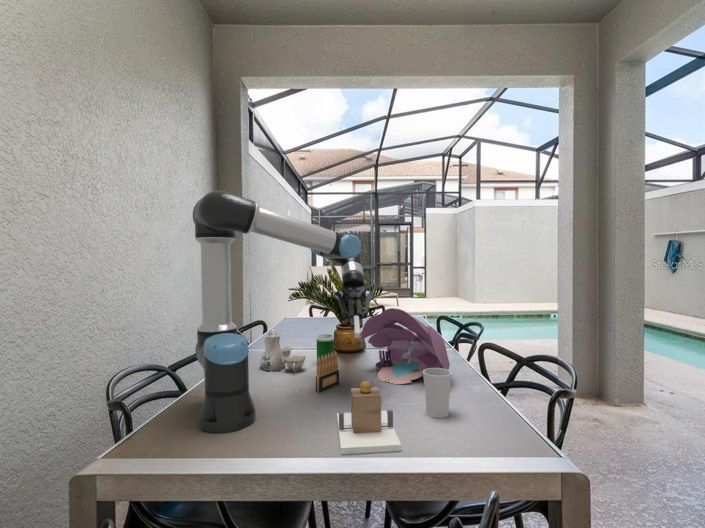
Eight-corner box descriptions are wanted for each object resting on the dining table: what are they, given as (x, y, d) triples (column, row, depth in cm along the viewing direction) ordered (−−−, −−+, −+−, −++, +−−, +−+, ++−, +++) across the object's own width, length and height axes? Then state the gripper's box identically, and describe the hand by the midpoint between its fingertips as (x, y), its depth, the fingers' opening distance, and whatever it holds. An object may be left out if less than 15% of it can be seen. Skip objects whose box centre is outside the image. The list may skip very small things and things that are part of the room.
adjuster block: (351, 422, 103) (350, 378, 103) (377, 421, 103) (377, 377, 103) (353, 432, 97) (352, 385, 97) (381, 431, 97) (380, 384, 97)
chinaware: (312, 376, 154) (315, 333, 155) (272, 379, 145) (275, 334, 146) (284, 360, 178) (287, 323, 178) (248, 362, 169) (252, 324, 170)
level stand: (336, 418, 109) (336, 399, 109) (386, 416, 111) (386, 396, 111) (341, 454, 90) (340, 430, 89) (401, 451, 91) (400, 427, 91)
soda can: (338, 364, 164) (337, 336, 164) (322, 367, 160) (322, 338, 159) (328, 360, 170) (328, 333, 170) (313, 363, 166) (313, 335, 166)
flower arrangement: (355, 390, 146) (340, 319, 142) (379, 362, 167) (367, 299, 163) (447, 396, 130) (433, 315, 125) (462, 364, 150) (450, 294, 146)
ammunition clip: (319, 392, 130) (319, 357, 130) (315, 391, 132) (314, 356, 131) (339, 384, 139) (339, 350, 139) (335, 383, 140) (335, 349, 140)
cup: (434, 421, 107) (433, 377, 107) (417, 410, 114) (417, 369, 114) (457, 416, 110) (457, 373, 110) (440, 406, 117) (440, 366, 117)
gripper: (370, 285, 139) (377, 342, 122) (333, 285, 138) (335, 343, 121) (372, 270, 133) (379, 328, 117) (334, 270, 132) (336, 329, 116)
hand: (357, 335), depth 119 cm, fingers closed
